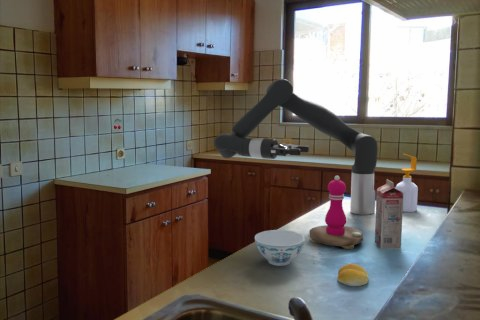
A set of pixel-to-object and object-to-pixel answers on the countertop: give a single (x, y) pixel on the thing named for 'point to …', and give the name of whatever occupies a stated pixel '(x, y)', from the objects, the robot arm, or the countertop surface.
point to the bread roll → (352, 275)
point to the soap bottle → (409, 188)
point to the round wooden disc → (336, 237)
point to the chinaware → (279, 245)
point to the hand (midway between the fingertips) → (304, 150)
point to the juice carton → (388, 216)
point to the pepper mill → (336, 208)
